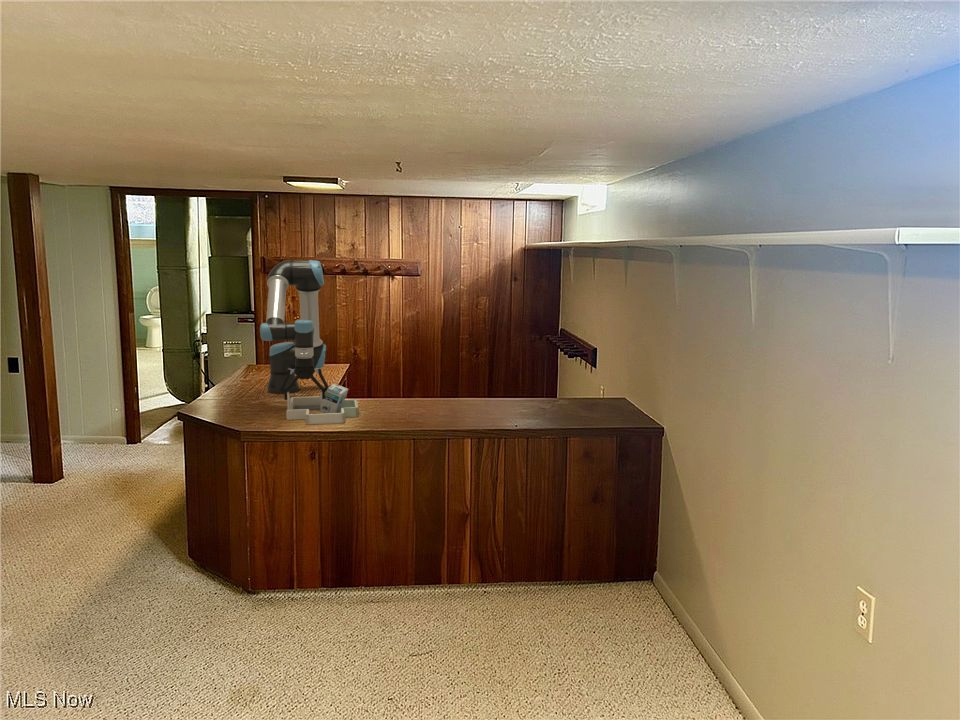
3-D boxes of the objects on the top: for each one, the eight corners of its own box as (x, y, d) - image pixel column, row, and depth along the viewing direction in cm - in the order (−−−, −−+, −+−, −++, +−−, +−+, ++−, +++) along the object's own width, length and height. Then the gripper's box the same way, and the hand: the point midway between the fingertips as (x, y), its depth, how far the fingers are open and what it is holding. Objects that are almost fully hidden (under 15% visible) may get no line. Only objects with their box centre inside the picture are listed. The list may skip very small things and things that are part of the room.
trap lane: (289, 406, 321) (288, 397, 320) (355, 403, 327) (355, 394, 326) (285, 425, 288) (285, 415, 287) (359, 422, 294) (359, 412, 293)
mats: (294, 406, 320) (294, 405, 320) (338, 404, 324) (338, 404, 324) (292, 424, 289) (292, 423, 289) (340, 422, 294) (340, 421, 294)
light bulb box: (334, 417, 302) (342, 393, 300) (319, 411, 302) (327, 387, 300) (340, 411, 312) (349, 388, 310) (326, 405, 312) (334, 382, 310)
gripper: (272, 358, 295) (273, 409, 298) (334, 358, 300) (335, 408, 303) (274, 356, 302) (275, 406, 306) (334, 355, 308) (335, 404, 311)
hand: (305, 407), depth 304 cm, fingers open, 13 cm apart
